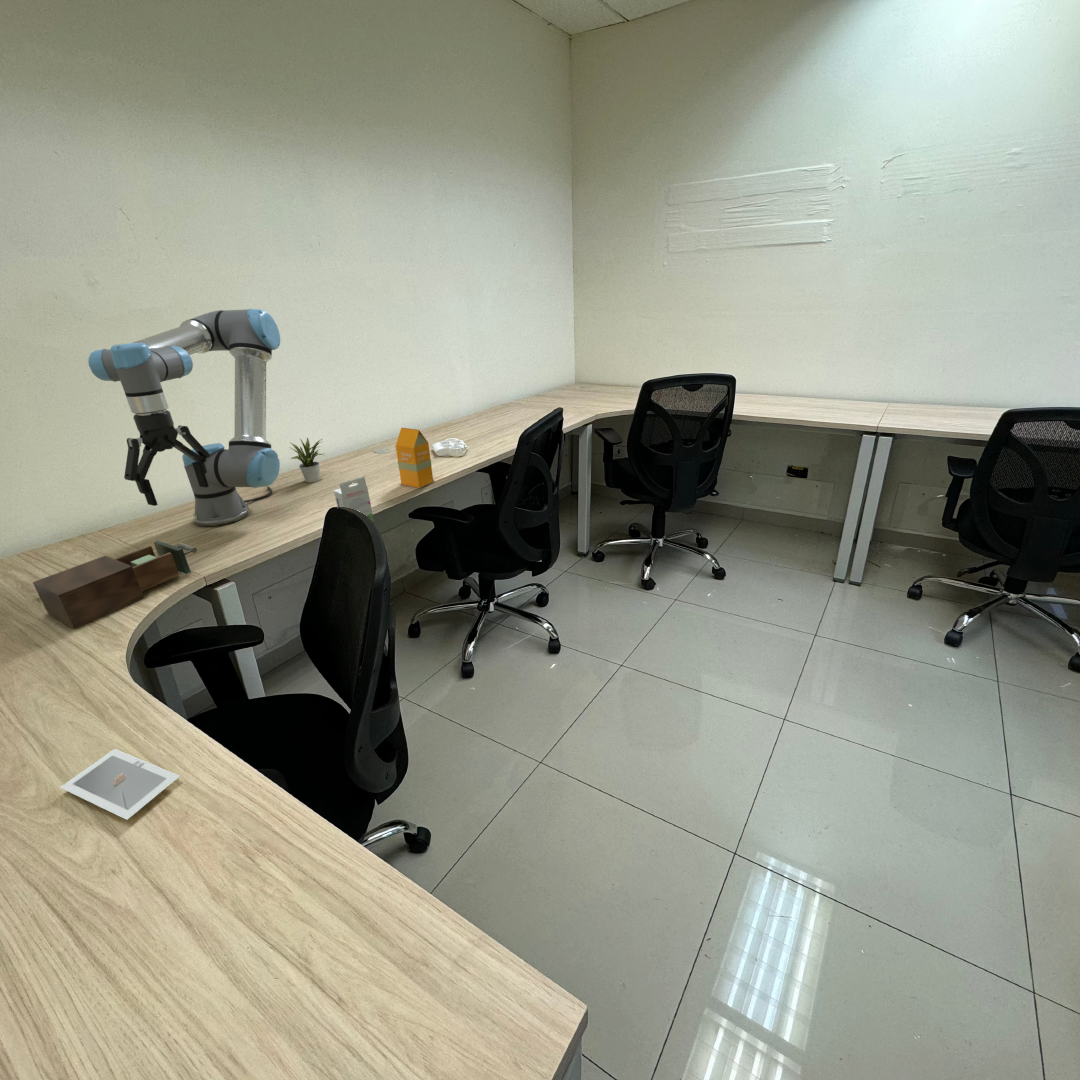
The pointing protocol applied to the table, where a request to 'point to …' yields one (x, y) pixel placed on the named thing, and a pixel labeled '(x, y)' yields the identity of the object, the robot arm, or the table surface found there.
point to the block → (142, 560)
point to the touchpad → (120, 783)
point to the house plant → (308, 461)
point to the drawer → (159, 563)
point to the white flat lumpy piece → (450, 447)
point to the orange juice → (413, 458)
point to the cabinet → (89, 591)
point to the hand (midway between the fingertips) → (179, 495)
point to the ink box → (354, 496)
